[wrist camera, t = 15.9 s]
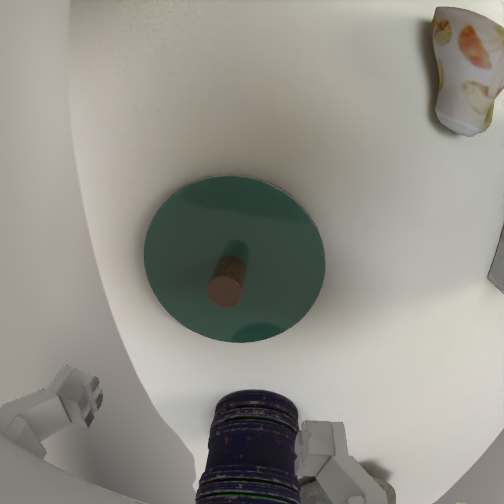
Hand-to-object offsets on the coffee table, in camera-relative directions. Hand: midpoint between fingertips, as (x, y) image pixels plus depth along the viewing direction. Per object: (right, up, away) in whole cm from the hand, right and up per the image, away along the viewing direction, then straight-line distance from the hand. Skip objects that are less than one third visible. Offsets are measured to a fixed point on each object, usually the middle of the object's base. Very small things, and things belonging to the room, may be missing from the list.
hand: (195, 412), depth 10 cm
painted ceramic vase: (+18, +20, +7) cm, 28 cm away
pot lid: (+1, +5, +14) cm, 15 cm away
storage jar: (+3, -13, +22) cm, 26 cm away
